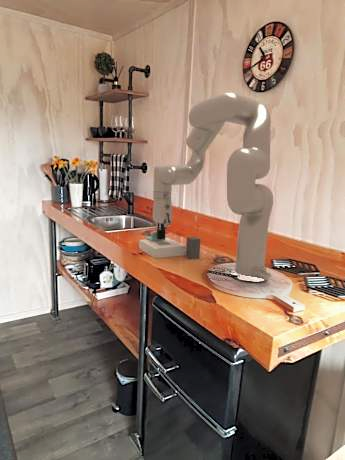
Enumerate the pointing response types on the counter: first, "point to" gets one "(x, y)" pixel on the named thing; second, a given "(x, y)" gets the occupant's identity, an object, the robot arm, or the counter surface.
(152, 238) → the shutter
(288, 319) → the counter surface
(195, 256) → the dark grey upright block
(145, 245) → the socket
